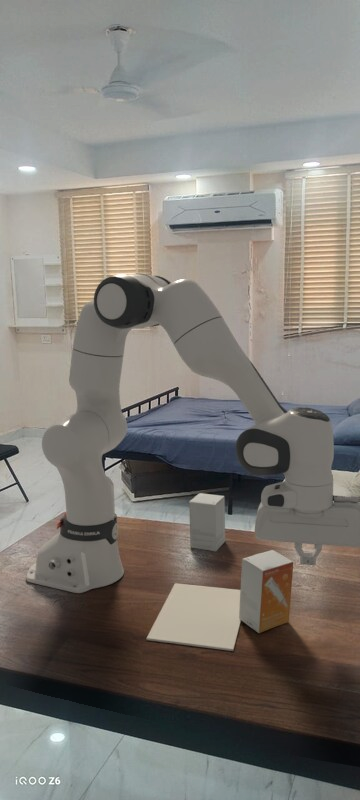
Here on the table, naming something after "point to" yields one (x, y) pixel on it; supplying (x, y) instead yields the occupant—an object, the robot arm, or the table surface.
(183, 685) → the table surface
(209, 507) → the supplement box
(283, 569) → the small box
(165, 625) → the mat
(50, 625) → the table surface
